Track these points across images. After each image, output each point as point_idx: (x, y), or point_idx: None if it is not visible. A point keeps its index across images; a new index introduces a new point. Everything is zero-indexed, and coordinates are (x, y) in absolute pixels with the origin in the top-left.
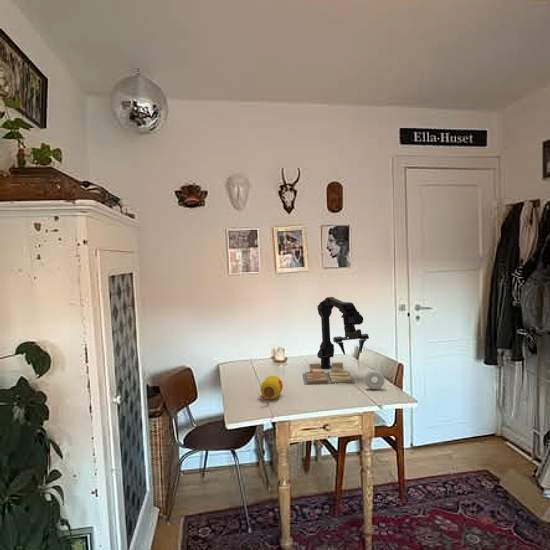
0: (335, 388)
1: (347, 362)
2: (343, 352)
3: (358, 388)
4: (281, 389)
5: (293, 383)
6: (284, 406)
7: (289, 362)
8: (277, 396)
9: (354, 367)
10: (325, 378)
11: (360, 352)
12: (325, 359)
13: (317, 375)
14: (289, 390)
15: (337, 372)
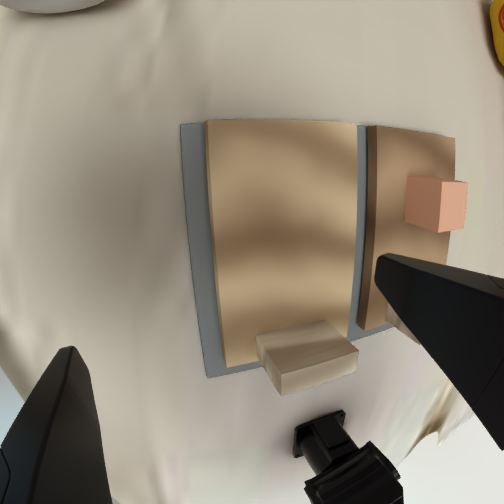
0: (324, 36)
1: (209, 499)
2: (425, 261)
3: (175, 12)
4: (502, 23)
5: (473, 168)
6: None
7: (414, 433)
8: (491, 7)
9: (173, 458)
10: (384, 171)
11: (82, 366)
12: (346, 448)
13: (432, 178)
14: (478, 80)
15: (296, 316)
